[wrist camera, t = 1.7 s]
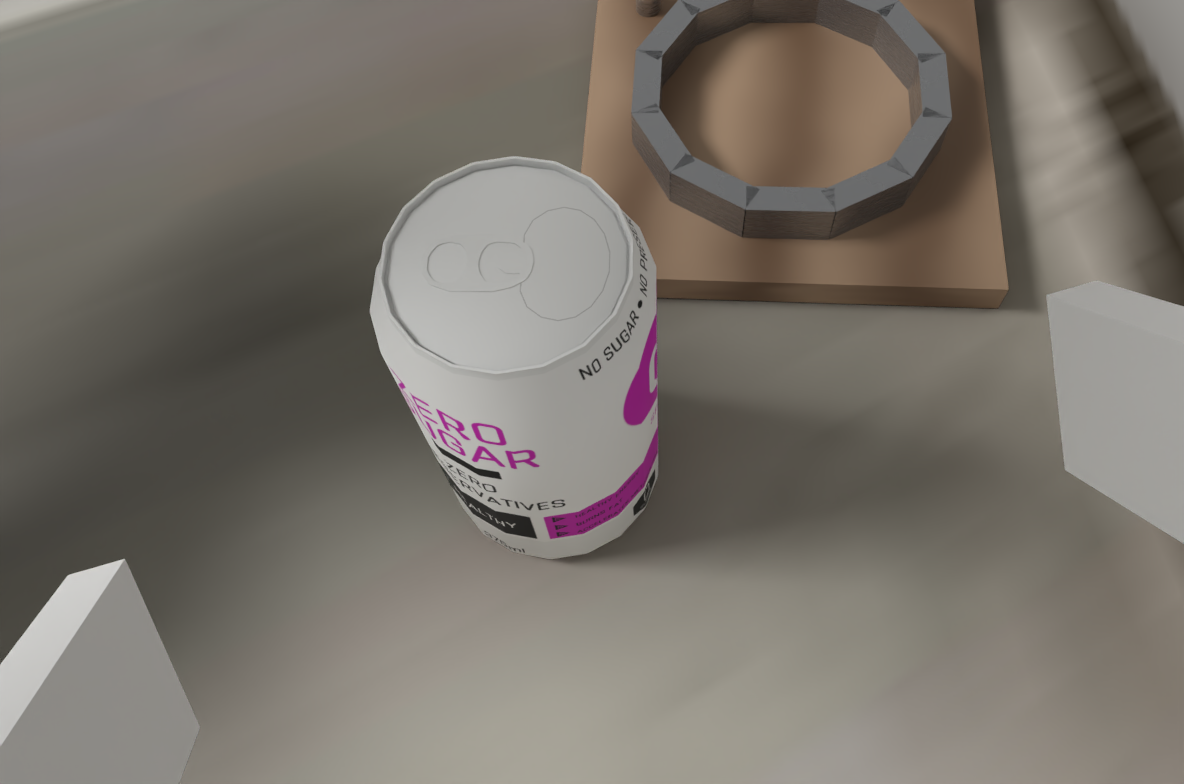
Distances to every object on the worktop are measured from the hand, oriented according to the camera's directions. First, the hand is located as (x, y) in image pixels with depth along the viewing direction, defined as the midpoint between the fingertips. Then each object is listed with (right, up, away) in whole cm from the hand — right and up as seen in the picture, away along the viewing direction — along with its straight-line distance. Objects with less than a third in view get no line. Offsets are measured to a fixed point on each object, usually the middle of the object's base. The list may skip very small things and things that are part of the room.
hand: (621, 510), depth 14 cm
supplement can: (-2, -1, +27) cm, 27 cm away
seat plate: (+8, +14, +33) cm, 37 cm away
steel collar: (+8, +14, +32) cm, 36 cm away
